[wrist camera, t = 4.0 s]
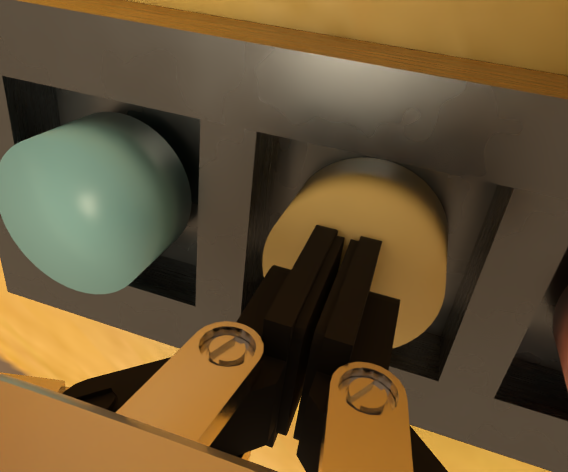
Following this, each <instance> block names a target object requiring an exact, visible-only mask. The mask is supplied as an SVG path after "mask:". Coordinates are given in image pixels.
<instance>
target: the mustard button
mask: <svg viewBox="0 0 568 472" xmlns="http://www.w3.org/2000/svg"><path fill="white" fill-rule="evenodd" d="M316 225H320V226H324V227H328V228H332V229H336V230H338V235H337V236H341V237H345V240H344V245H343V250H342V255H341V259H340V264H339V268H340V265H341V263H342V260H343V258H344V255H345V253H346V250H347V248H348V245H349V243H350V240H351V239H353V240H356V241H359V239H360V237H361V236H364V237H368V238H372V239H376V240H380V241H382V245H381V249H380V252H379V256H378V260H377V264H376V268H375V272H374V276H373V280H372V284H371V288H370V291H371V292H374V293H378V294H382V295H385V296H389V297H393V298H396V299H400V307H399V313H398V318H397V324H396V330H395V336H394V342H393V347H392V348H396V347H399V346H401V345H404V344H406V343H408V342H410V341H412V340H413V339H415V338H417V337H418V336H419V335H420V334H422V333H423V332H424V331H425V330H426V329H427V328H428V327H429V326H430V325H431V324H432V323H433V321H434V320H435V318H436V317H437V315H438V313H439V311H440V309H441V306H442V304H443V300H444V296H445V288H446V271H447V250H448V223H447V219H446V214H445V212H444V209H443V206H442V204H441V202H440V201H439V199H438V197H437V195H436V194H435V193H434V191H433V190H432V189H431V187H430V186H429V185H428V184H427V183H426V182H425V181H424V180H423V179H421V178H420V177H419V176H417V175H416V174H415V173H413V172H412V171H410V170H408V169H407V168H405V167H403V166H400V165H398V164H396V163H393V162H390V161H386V160H383V159H376V158H362V157H360V158H350V159H346V160H341V161H338V162H335V163H333V164H330V165H328V166H326V167H324V168H323V169H321V170H319V171H318V172H317V173H315V174H314V175H313V176H312V177H311V178H310V179H309V180H308V181H307V182H306V183H305V184H304V186H303V187H302V188H301V190H300V191H299V192H298V194H297V195H296V196H295V198H294V199H293V201H292V202H291V203H290V205H289V206H288V207H287V209H286V210H285V212H284V213H283V214H282V216H281V217H280V218H279V220H278V221H277V223H276V224H275V225H274V227H273V228H272V230H271V232H270V234H269V235H268V237H267V240H266V243H265V246H264V251H263V260H262V267H263V276H264V277H265V276H266V274H267V272H268V271H269V269H270V268H271V267H272V266H273V265H276V266H280V267H283V268H287V269H292V268H293V266H294V264H295V262H296V260H297V259H298V257H299V255H300V253H301V251H302V250H303V248H304V246H305V244H306V242H307V241H308V239H309V237H310V235H311V233H312V232H313V230H314V228H315V226H316ZM338 271H339V269H338Z"/></svg>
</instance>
